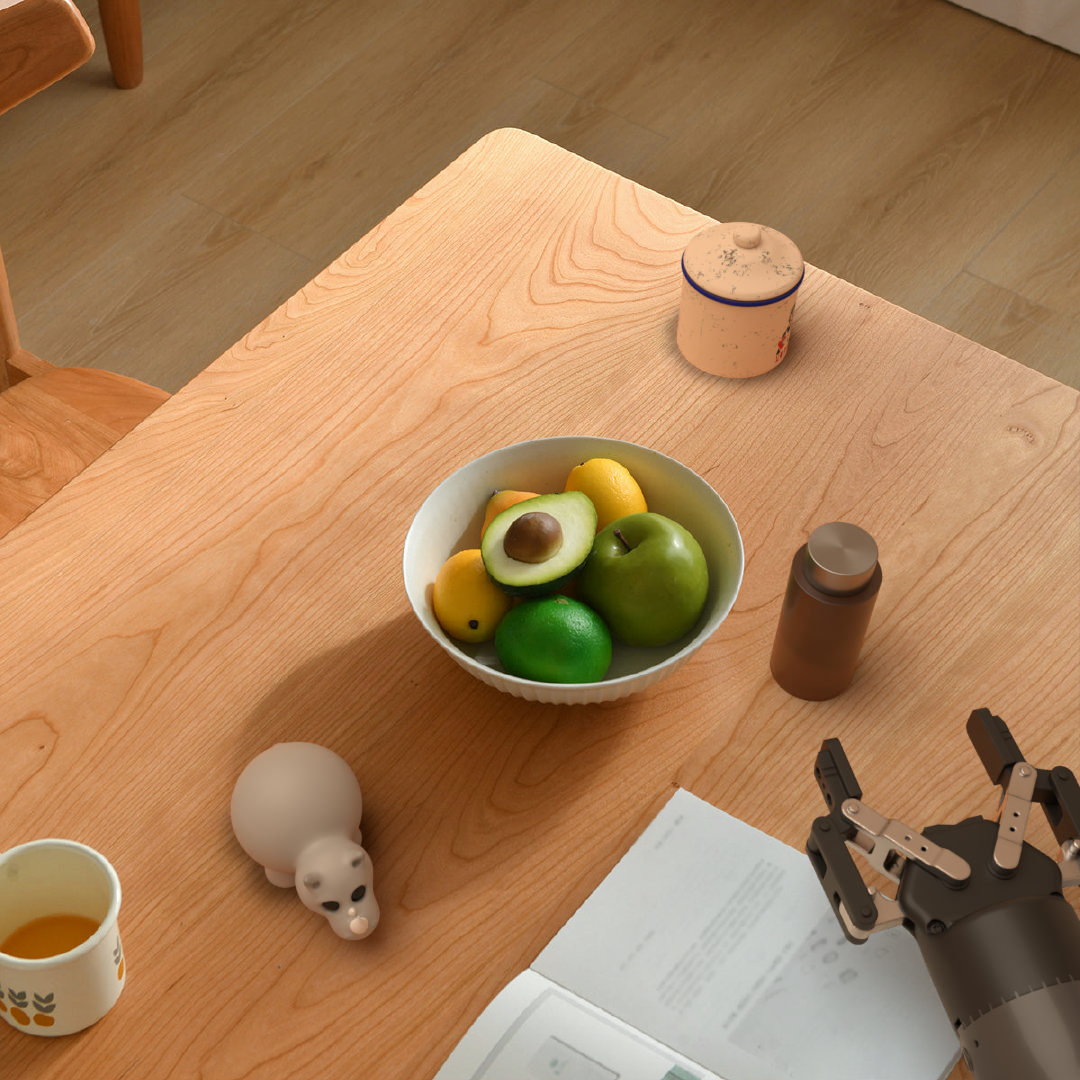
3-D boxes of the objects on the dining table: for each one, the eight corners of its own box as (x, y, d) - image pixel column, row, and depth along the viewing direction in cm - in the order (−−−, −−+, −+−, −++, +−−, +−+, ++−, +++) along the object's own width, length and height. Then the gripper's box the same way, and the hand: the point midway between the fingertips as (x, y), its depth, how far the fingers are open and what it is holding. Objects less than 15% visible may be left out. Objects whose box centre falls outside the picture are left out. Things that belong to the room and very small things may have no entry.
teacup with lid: (800, 386, 104) (825, 265, 95) (684, 395, 103) (698, 274, 94) (766, 285, 112) (785, 165, 103) (657, 294, 111) (667, 173, 102)
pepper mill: (831, 637, 89) (868, 506, 79) (861, 702, 86) (904, 574, 76) (756, 652, 88) (784, 521, 78) (783, 718, 85) (816, 591, 75)
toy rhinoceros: (306, 1000, 73) (283, 935, 67) (227, 825, 80) (200, 750, 73) (426, 939, 76) (415, 869, 69) (339, 773, 82) (322, 696, 76)
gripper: (1207, 955, 61) (1042, 666, 71) (913, 1026, 59) (785, 718, 69) (1150, 1017, 67) (1004, 741, 77) (879, 1084, 65) (766, 791, 75)
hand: (901, 730), depth 73 cm, fingers open, 8 cm apart
